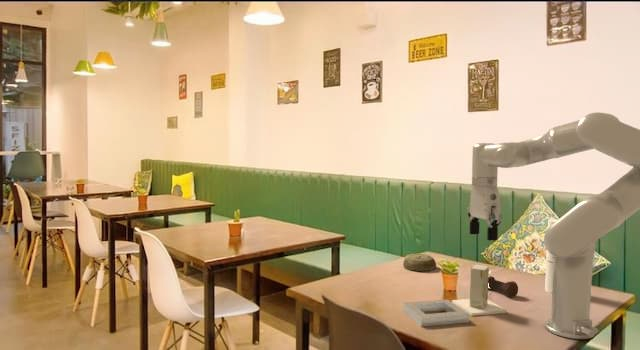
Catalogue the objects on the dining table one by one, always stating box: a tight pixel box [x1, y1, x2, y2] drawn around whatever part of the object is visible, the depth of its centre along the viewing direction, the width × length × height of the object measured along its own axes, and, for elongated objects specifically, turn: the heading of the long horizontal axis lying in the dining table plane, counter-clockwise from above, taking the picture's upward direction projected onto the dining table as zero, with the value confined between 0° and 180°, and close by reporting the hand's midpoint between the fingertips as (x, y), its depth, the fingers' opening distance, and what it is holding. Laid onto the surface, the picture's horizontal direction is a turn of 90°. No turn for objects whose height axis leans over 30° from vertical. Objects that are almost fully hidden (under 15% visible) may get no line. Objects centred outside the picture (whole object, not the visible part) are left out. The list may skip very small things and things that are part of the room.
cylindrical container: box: [544, 218, 559, 294], centre depth 169 cm, size 7×7×25 cm
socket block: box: [402, 298, 470, 327], centre depth 145 cm, size 13×15×2 cm
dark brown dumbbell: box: [488, 275, 519, 298], centre depth 170 cm, size 6×5×15 cm
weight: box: [402, 253, 437, 272], centre depth 200 cm, size 14×13×5 cm
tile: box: [451, 298, 508, 317], centre depth 153 cm, size 12×12×1 cm
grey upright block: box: [469, 264, 490, 308], centre depth 153 cm, size 6×4×12 cm
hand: (483, 236), depth 152 cm, fingers open, 9 cm apart
